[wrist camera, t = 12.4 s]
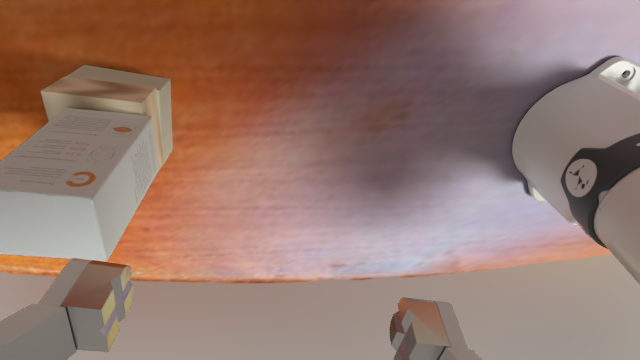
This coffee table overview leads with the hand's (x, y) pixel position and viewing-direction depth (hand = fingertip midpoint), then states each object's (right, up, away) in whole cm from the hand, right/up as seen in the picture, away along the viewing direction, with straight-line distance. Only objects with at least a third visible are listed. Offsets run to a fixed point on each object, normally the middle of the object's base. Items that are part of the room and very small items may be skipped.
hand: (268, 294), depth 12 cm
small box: (-19, +8, +27) cm, 33 cm away
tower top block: (-20, +10, +30) cm, 37 cm away
